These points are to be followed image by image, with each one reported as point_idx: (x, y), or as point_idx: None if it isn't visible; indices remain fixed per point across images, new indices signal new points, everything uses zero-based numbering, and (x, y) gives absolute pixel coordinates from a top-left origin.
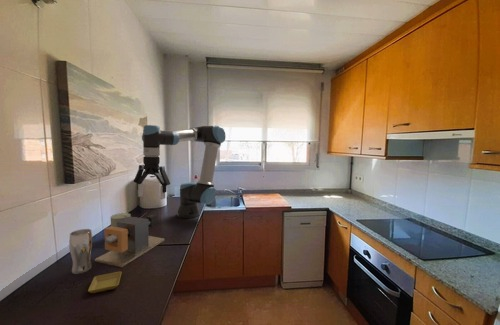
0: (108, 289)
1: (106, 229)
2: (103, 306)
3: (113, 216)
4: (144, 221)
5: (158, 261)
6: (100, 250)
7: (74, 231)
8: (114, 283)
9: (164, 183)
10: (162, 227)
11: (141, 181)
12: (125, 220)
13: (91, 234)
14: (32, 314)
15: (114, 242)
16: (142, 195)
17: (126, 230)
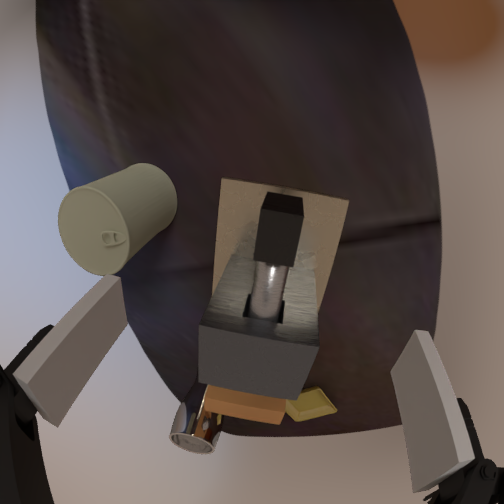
0: (321, 408)
1: (213, 411)
2: (335, 423)
3: (74, 248)
4: (311, 364)
5: (382, 331)
6: (170, 298)
7: (171, 439)
8: (321, 398)
9: (467, 496)
10: (253, 54)
11: (23, 432)
12: (216, 369)
13: (211, 434)
14: (253, 432)
15: None
16: (119, 292)
17: (284, 411)
